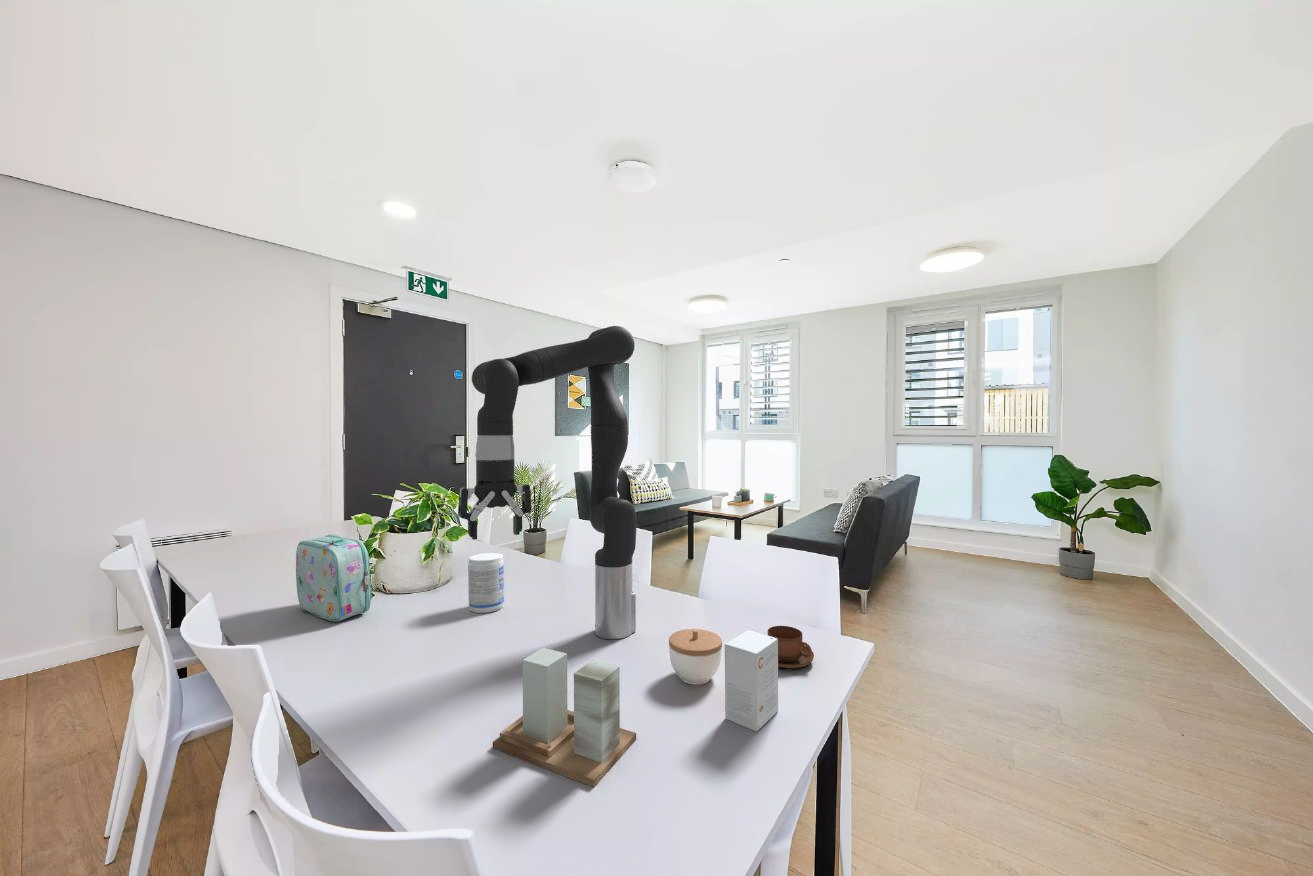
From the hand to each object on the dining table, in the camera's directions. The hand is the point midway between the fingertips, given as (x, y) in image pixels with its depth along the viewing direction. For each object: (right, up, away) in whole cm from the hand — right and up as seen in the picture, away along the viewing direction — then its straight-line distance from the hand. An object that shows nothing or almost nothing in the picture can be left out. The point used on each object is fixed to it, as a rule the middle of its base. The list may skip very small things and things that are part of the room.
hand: (495, 536), depth 101 cm
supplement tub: (-15, -28, +38) cm, 50 cm away
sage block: (+15, -27, -21) cm, 38 cm away
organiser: (+19, -28, -23) cm, 41 cm away
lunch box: (-56, -28, +35) cm, 72 cm away
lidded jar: (+41, -28, -2) cm, 50 cm away
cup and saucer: (+61, -28, +6) cm, 67 cm away
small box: (+50, -28, -15) cm, 59 cm away
